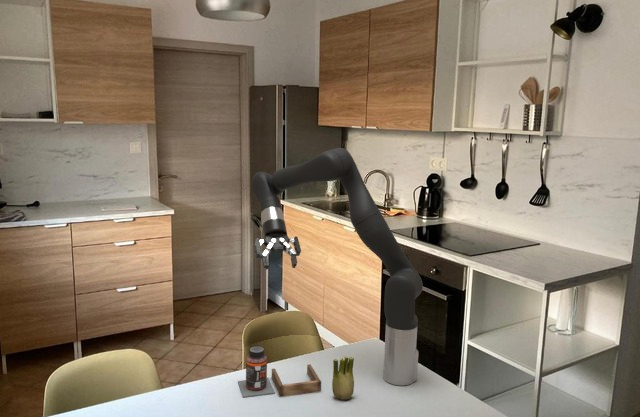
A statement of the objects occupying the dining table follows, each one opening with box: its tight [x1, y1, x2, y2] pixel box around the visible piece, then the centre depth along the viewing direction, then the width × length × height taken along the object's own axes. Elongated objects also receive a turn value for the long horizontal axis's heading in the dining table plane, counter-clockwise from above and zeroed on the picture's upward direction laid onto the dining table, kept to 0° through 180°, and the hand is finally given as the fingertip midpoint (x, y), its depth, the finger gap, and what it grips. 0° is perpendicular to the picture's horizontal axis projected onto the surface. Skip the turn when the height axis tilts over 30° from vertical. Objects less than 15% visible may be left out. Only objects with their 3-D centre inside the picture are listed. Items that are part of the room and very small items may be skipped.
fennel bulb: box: [331, 355, 355, 401], centre depth 148 cm, size 6×5×12 cm
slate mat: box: [237, 377, 276, 399], centre depth 153 cm, size 9×9×1 cm
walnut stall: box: [271, 364, 322, 398], centre depth 155 cm, size 12×11×3 cm
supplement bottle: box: [245, 346, 268, 390], centre depth 152 cm, size 6×6×11 cm
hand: (281, 267), depth 165 cm, fingers open, 8 cm apart
